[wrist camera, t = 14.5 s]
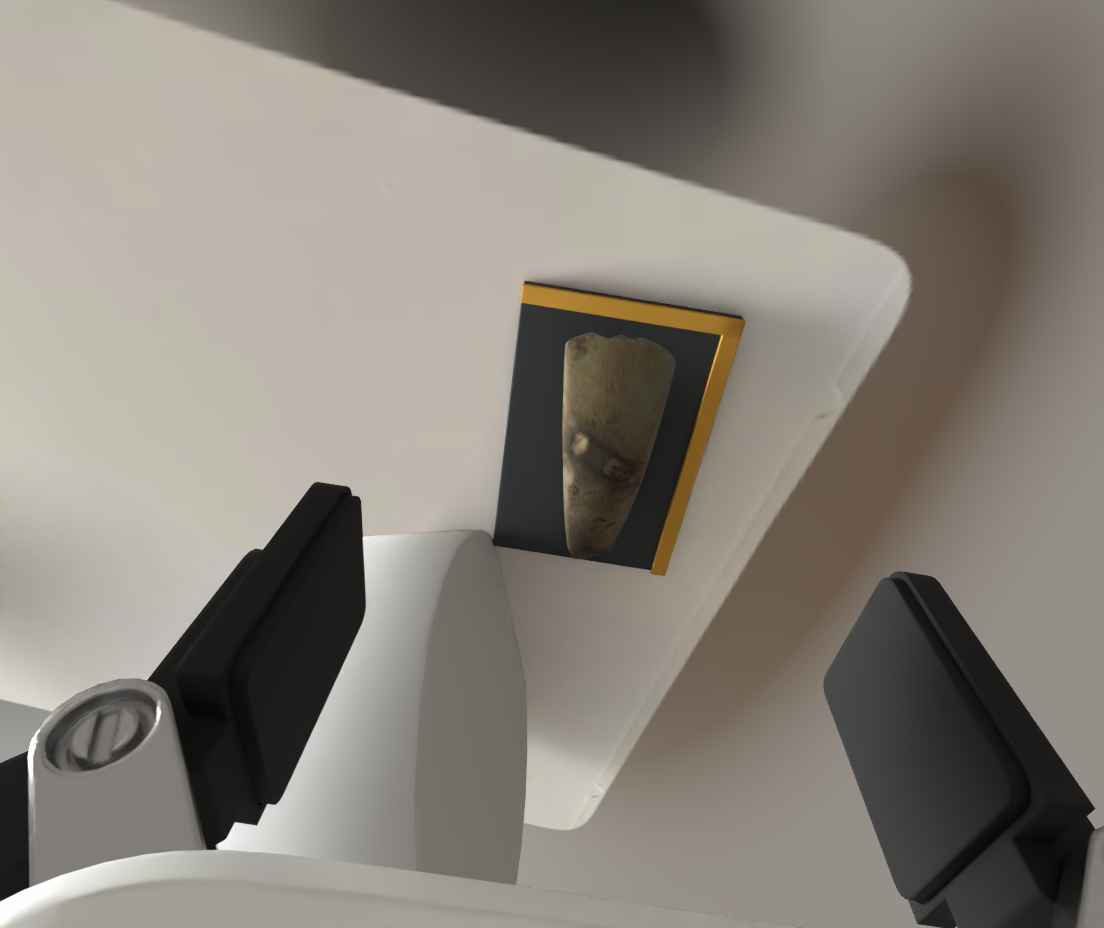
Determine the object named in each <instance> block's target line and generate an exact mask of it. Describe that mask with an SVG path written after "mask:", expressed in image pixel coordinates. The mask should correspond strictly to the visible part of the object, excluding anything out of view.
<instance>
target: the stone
mask: <svg viewBox="0 0 1104 928" xmlns="http://www.w3.org/2000/svg"><path fill="white" fill-rule="evenodd" d="M675 366H676V361H675V358H674V356H673V355H672V354H671V353H670V352H669V351H668V349H665V348H664V347H662V346H661V345H659V344H657V343H655V342H653V341H650V340H647V339H645V338H628V337H626V336H624V335H618V336H615V337H612V338H606V337H603V336H601V335H598V334H596V333H587V334H583V335H581V336H577V337H574V338H572V339H571V340H569V341H568V342H567V343H566V345H565V359H564V383H563V421H562V426H563V428H562V435H563V499H564V517H565V531H566V539H567V547H568V549H569V551H570V552H571V554H572V556H573V558H574V559H586V558H588V557H592V556H597V555H607V554H608V553H609V552H610V551H611V549H612V546H613V544H614V542H615V540H616V538H617V536H618V534H619V532H620V530H621V528H622V527H623V525H624V523H625V521H626V519H627V516H628V514H629V512H630V510H631V508H632V505H633V503H634V500H635V498H636V495H637V493H638V490H639V488H640V485H641V482H642V480H643V477H644V474H645V470H646V468H647V465H648V462H649V459H650V455H651V452H652V449H653V446H654V442H655V439H656V436H657V433H658V429H659V426H660V423H661V419H662V415H663V412H664V408H665V404H666V400H667V397H668V393H669V389H670V385H671V381H672V378H673V374H674V370H675Z"/></svg>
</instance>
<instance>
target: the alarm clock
mask: <svg viewBox="0 0 1104 928" xmlns="http://www.w3.org/2000/svg"><path fill="white" fill-rule="evenodd" d="M363 552H364V572H365V593H366V610H365V615H364V619H363V622H362V625H361V627H360V629H359V631H358V634H357V636H356V638H355V640H354V642H353V644H352V647H351V649H350V651H349V653H348V655H347V657H346V660H345V662H344V664H343V666H342V668H341V670H340V673H339V675H338V677H337V679H336V681H335V683H334V686H333V688H332V690H331V692H330V694H329V697H328V699H327V701H326V703H325V705H324V707H323V710H322V712H321V714H320V716H319V718H318V720H317V723H316V725H315V727H314V729H313V731H312V733H311V736H310V738H309V740H308V742H307V744H306V746H305V749H304V751H303V753H302V755H301V757H300V760H299V762H298V764H297V766H296V768H295V770H294V773H293V775H292V777H291V779H290V781H289V783H288V786H287V788H286V790H285V792H284V794H283V796H282V798H281V799H280V801H279V802H278V803H277V804H276V805H271V804H267V806H266V808H265V810H264V812H263V814H262V816H261V818H260V820H259V822H258V825H257V826H256V825H250V824H243V823H236V822H235V823H234V825H233V827H232V829H231V831H230V833H229V834H228V836H227V838H226V839H225V840H224V841H222V842H220V843H219V844H218V849H219V850H233V851H248V852H262V853H276V854H287V855H295V856H303V857H311V858H319V859H327V860H335V861H343V862H351V863H359V864H367V865H375V866H383V867H391V868H399V869H406V870H413V871H420V872H427V873H434V874H441V875H448V876H455V877H461V878H468V879H475V880H482V881H489V882H496V883H503V884H510V885H516V882H517V874H518V867H519V860H520V852H521V844H522V833H523V821H524V809H525V795H526V768H527V700H526V683H525V678H524V674H523V669H522V665H521V660H520V656H519V651H518V647H517V643H516V638H515V634H514V629H513V625H512V620H511V616H510V611H509V607H508V602H507V598H506V593H505V589H504V584H503V580H502V575H501V571H500V566H499V562H498V557H497V553H496V548H495V546H494V545H493V539H492V538H491V537H490V536H489V534H488V533H487V532H485V531H482V530H460V531H445V532H429V533H414V534H398V535H383V536H367V537H363Z"/></svg>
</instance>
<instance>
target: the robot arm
mask: <svg viewBox="0 0 1104 928" xmlns="http://www.w3.org/2000/svg"><path fill="white" fill-rule="evenodd" d="M365 610H366V593H365V572H364V552H363V532H362V512H361V500H360V497H358V496H352V493H351V490H350V488H349V487H347V486H340V485H334V484H327V483H321V482H316V483H314V484H313V485H312V486H311V487H310V488H309V490H308V491H307V492H306V494H305V495H304V496H303V498H302V499H301V500H300V502H299V503H298V504H297V506H296V507H295V508H294V510H293V511H292V512H291V514H290V515H289V516H288V518H287V519H286V520H285V522H284V523H283V524H282V525H281V527H280V528H279V529H278V531H277V532H276V533H275V535H274V536H273V537H272V539H271V540H270V541H269V543H268V544H267V545H266V547H265V548H264V549H263V550H260V549H254V550H252V551H250V552H249V553H248V554H247V555H246V556H245V557H244V558H243V559H242V560H241V561H240V563H239V564H238V565H237V566H236V568H235V569H234V570H233V572H232V573H231V574H230V575H229V577H228V578H227V579H226V580H225V582H224V583H223V584H222V586H221V587H220V588H219V589H218V591H217V592H216V593H215V594H214V596H213V597H212V598H211V600H210V601H209V602H208V603H207V605H206V606H205V607H204V609H203V610H202V611H201V612H200V614H199V615H198V616H197V617H196V619H195V620H194V621H193V623H192V624H191V625H190V626H189V628H188V629H187V630H186V631H185V633H184V634H183V635H182V637H181V638H180V639H179V640H178V642H177V643H176V644H175V645H174V647H173V648H172V649H171V651H170V652H169V653H168V654H167V656H166V657H165V658H164V660H163V661H162V662H161V663H160V665H159V666H158V667H157V668H156V670H155V671H154V672H153V674H152V675H151V676H150V677H149V679H148V680H142V679H138V678H137V679H118V680H114V681H110V682H106V683H102V684H98V685H96V686H94V687H91V688H89V689H87V690H85V691H83V692H80V693H78V694H76V695H75V696H73V697H72V698H70V699H69V700H67V701H66V702H65V703H63V704H62V705H60V706H59V707H57V708H56V709H55V710H54V711H53V712H52V713H51V714H50V715H49V716H48V717H47V718H46V719H45V720H44V721H43V722H42V724H41V725H40V727H39V729H38V730H37V732H36V733H35V735H34V737H33V738H32V740H31V745H30V749H29V751H27V752H25V753H23V754H20V755H18V756H15V757H13V758H11V759H9V760H6V761H4V762H2V763H0V928H800V927H793V926H787V925H780V924H774V923H768V922H761V921H754V920H748V919H740V918H734V917H728V916H720V915H714V914H708V913H701V912H694V911H687V910H681V909H674V908H667V907H660V906H654V905H647V904H640V903H634V902H627V901H620V900H613V899H607V898H600V897H593V896H586V895H580V894H573V893H566V892H558V891H552V890H545V889H538V888H531V887H524V886H517V885H510V884H503V883H496V882H489V881H482V880H475V879H468V878H461V877H455V876H448V875H441V874H434V873H427V872H420V871H413V870H406V869H399V868H391V867H383V866H375V865H367V864H359V863H351V862H343V861H335V860H327V859H319V858H311V857H303V856H295V855H287V854H276V853H262V852H248V851H233V850H219V849H218V844H219V843H220V842H222V841H224V840H225V839H226V838H227V836H228V834H229V833H230V831H231V829H232V827H233V825H234V823H235V822H236V823H243V824H250V825H256V826H257V825H258V822H259V820H260V818H261V816H262V814H263V812H264V810H265V808H266V806H267V804H271V805H276V804H277V803H278V802H279V801H280V799H281V798H282V796H283V794H284V792H285V790H286V788H287V786H288V783H289V781H290V779H291V777H292V775H293V773H294V770H295V768H296V766H297V764H298V762H299V760H300V757H301V755H302V753H303V751H304V749H305V746H306V744H307V742H308V740H309V738H310V736H311V733H312V731H313V729H314V727H315V725H316V723H317V720H318V718H319V716H320V714H321V712H322V710H323V707H324V705H325V703H326V701H327V699H328V697H329V694H330V692H331V690H332V688H333V686H334V683H335V681H336V679H337V677H338V675H339V673H340V670H341V668H342V666H343V664H344V662H345V660H346V657H347V655H348V653H349V651H350V649H351V647H352V644H353V642H354V640H355V638H356V636H357V634H358V631H359V629H360V627H361V625H362V622H363V619H364V615H365ZM824 693H825V696H826V699H827V702H828V705H829V707H830V710H831V713H832V715H833V718H834V721H835V723H836V726H837V729H838V732H839V734H840V737H841V739H842V742H843V745H844V748H845V751H846V753H847V756H848V758H849V761H850V764H851V767H852V770H853V772H854V775H855V778H856V780H857V783H858V786H859V788H860V791H861V794H862V797H863V799H864V802H865V805H866V807H867V810H868V813H869V816H870V818H871V821H872V824H873V826H874V829H875V832H876V834H877V837H878V840H879V843H880V845H881V848H882V850H883V853H884V856H885V859H886V862H887V864H888V867H889V869H890V872H891V875H892V878H893V880H894V883H895V885H896V888H897V890H898V891H899V893H900V894H901V896H903V897H904V898H905V899H908V900H909V903H910V906H911V908H912V911H913V914H914V916H915V919H916V922H917V924H921V925H928V926H934V927H941V928H955V927H956V926H957V927H958V928H1104V826H1103V827H1100V828H1098V829H1095V828H1094V827H1093V825H1092V824H1091V822H1090V821H1089V819H1088V818H1087V815H1088V814H1090V813H1091V812H1092V811H1093V810H1094V809H1095V808H1094V806H1093V805H1092V803H1091V802H1090V800H1089V799H1088V797H1087V796H1086V795H1085V793H1084V792H1083V790H1082V789H1081V787H1080V786H1079V785H1078V783H1077V782H1076V780H1075V779H1074V777H1073V776H1072V774H1071V773H1070V771H1069V770H1068V768H1067V767H1066V766H1065V764H1064V763H1063V761H1062V760H1061V758H1060V757H1059V756H1058V754H1057V753H1056V751H1055V750H1054V748H1053V747H1052V745H1051V744H1050V743H1049V741H1048V740H1047V738H1046V737H1045V735H1044V734H1043V732H1042V731H1041V729H1040V728H1039V726H1038V725H1037V724H1036V722H1035V721H1034V720H1033V718H1032V717H1031V715H1030V713H1029V712H1028V711H1027V709H1026V708H1025V706H1024V705H1023V703H1022V702H1021V700H1020V699H1019V698H1018V696H1017V695H1016V693H1015V692H1014V690H1013V689H1012V687H1011V686H1010V685H1009V683H1008V682H1007V680H1006V679H1005V677H1004V676H1003V674H1002V673H1001V672H1000V670H999V669H998V668H997V666H996V664H995V663H994V661H993V660H992V658H991V657H990V656H989V654H988V653H987V651H986V650H985V648H984V647H983V645H982V644H981V642H980V641H979V640H978V638H977V637H976V635H975V634H974V632H973V631H972V629H971V628H970V627H969V625H968V624H967V622H966V621H965V619H964V618H963V616H962V615H961V614H960V612H959V611H958V609H957V608H956V606H955V605H954V603H953V602H952V600H951V599H950V598H949V596H948V595H947V593H946V592H945V590H944V589H943V587H942V586H941V585H940V583H939V582H938V581H937V580H936V579H935V578H933V577H931V576H927V575H921V574H914V573H908V572H901V571H900V572H895V573H893V574H891V576H890V577H889V578H884V579H882V580H881V581H880V582H879V584H878V586H877V587H876V589H875V591H874V592H873V594H872V596H871V597H870V599H869V601H868V603H867V604H866V606H865V608H864V609H863V611H862V613H861V615H860V616H859V618H858V620H857V621H856V623H855V625H854V626H853V628H852V630H851V631H850V633H849V635H848V637H847V638H846V640H845V642H844V643H843V645H842V647H841V649H840V650H839V652H838V654H837V655H836V657H835V659H834V660H833V662H832V664H831V666H830V668H829V669H828V671H827V672H826V675H825V678H824Z"/></svg>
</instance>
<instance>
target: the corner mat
mask: <svg viewBox="0 0 1104 928" xmlns="http://www.w3.org/2000/svg"><path fill="white" fill-rule="evenodd" d="M744 324H745V320H744V319H743V318H742V316H737V315H731V314H725V313H719V312H713V311H706V310H700V309H694V308H688V307H682V306H676V305H670V304H663V303H657V302H651V301H645V300H639V299H633V298H627V297H621V296H614V295H608V294H602V293H596V292H590V291H584V290H578V289H571V288H565V287H559V286H553V285H547V284H541V283H535V282H529V281H525V282H524V284H523V287H522V295H521V309H520V318H519V326H518V335H517V343H516V352H515V360H514V369H513V378H512V386H511V395H510V403H509V412H508V420H507V429H506V438H505V446H504V455H503V463H502V472H501V480H500V489H499V498H498V506H497V515H496V523H495V532H494V540H493V545H494V546H500V547H507V548H513V549H519V550H526V551H532V552H539V553H545V554H551V555H558V556H564V557H570V558H573V556H572V554H571V552H570V551H569V549H568V547H567V539H566V531H565V517H564V499H563V435H562V428H563V426H562V421H563V383H564V359H565V345H566V343H567V342H568V341H569V340H571V339H572V338H574V337H577V336H581V335H583V334H587V333H596V334H598V335H601V336H603V337H606V338H612V337H615V336H618V335H624V336H626V337H628V338H645V339H647V340H650V341H653V342H655V343H657V344H659V345H661V346H662V347H664V348H665V349H668V351H669V352H670V353H671V354H672V355H673V356H674V358H675V361H676V366H675V370H674V374H673V378H672V381H671V385H670V389H669V393H668V397H667V400H666V404H665V408H664V412H663V415H662V419H661V423H660V426H659V429H658V433H657V436H656V439H655V442H654V446H653V449H652V452H651V455H650V459H649V462H648V465H647V468H646V470H645V474H644V477H643V480H642V482H641V485H640V488H639V490H638V493H637V495H636V498H635V500H634V503H633V505H632V508H631V510H630V512H629V514H628V516H627V519H626V521H625V523H624V525H623V527H622V528H621V530H620V532H619V534H618V536H617V538H616V540H615V542H614V544H613V546H612V549H611V551H610V552H609V553H608V554H607V555H597V556H592V557H588V558H586V559H583V560H590V561H596V562H602V563H609V564H615V565H621V566H628V567H634V568H640V569H647V570H651V574H656V575H662V576H665V573H666V570H667V567H668V564H669V561H670V558H671V555H672V551H673V548H674V545H675V542H676V539H677V536H678V532H679V529H680V526H681V523H682V520H683V517H684V514H685V510H686V507H687V504H688V501H689V498H690V495H691V491H692V488H693V485H694V482H695V479H696V476H697V473H698V469H699V466H700V463H701V460H702V457H703V454H704V450H705V447H706V444H707V441H708V438H709V435H710V432H711V428H712V425H713V422H714V419H715V416H716V413H717V409H718V406H719V403H720V400H721V397H722V394H723V391H724V387H725V384H726V381H727V378H728V375H729V372H730V369H731V365H732V362H733V359H734V356H735V353H736V350H737V346H738V343H739V340H740V337H741V334H742V331H743V328H744Z"/></svg>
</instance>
